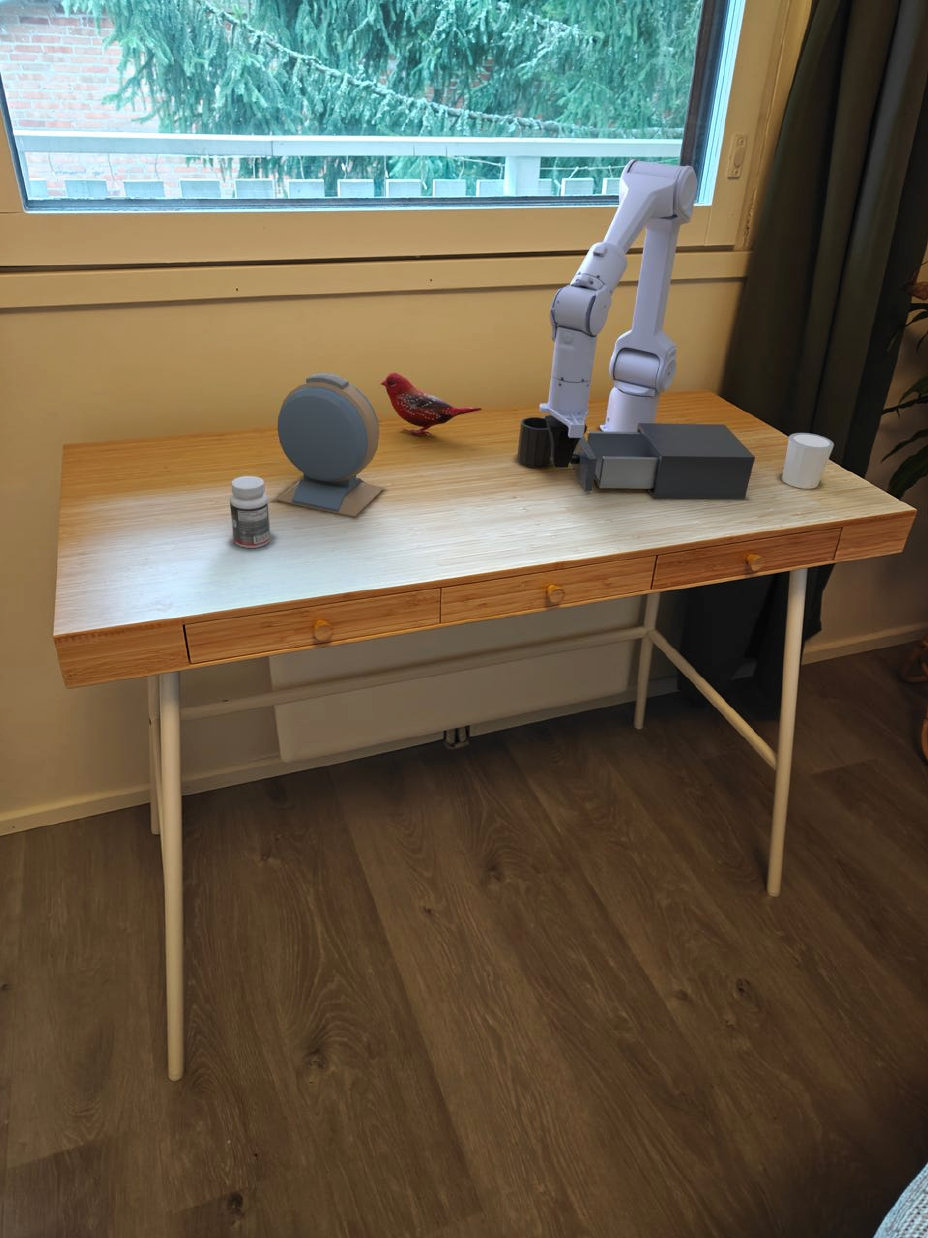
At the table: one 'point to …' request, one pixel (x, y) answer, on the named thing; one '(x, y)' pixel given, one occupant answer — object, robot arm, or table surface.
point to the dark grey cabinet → (698, 461)
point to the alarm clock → (329, 444)
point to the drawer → (615, 460)
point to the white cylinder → (806, 459)
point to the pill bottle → (249, 512)
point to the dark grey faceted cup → (534, 443)
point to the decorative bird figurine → (419, 404)
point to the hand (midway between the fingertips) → (560, 465)
